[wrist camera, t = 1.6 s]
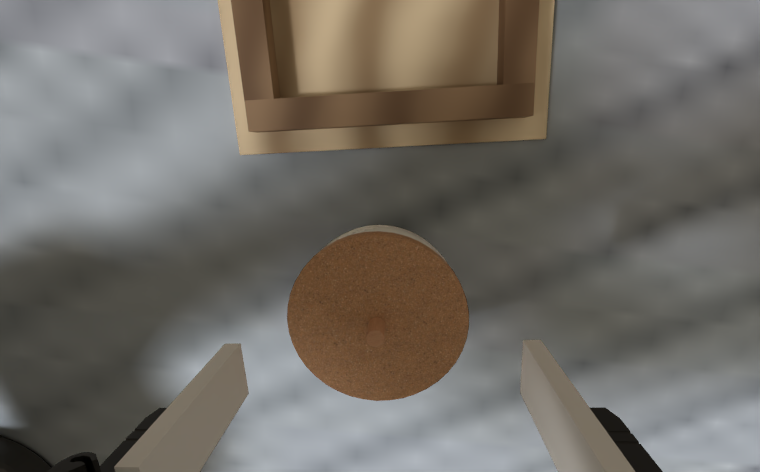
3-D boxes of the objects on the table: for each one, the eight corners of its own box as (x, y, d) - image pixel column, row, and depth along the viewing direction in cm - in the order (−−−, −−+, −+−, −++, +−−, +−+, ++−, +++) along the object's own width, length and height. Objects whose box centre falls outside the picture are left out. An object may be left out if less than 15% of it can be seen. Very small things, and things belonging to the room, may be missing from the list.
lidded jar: (296, 233, 27) (246, 275, 18) (429, 192, 26) (446, 216, 17) (340, 350, 30) (316, 439, 21) (464, 318, 28) (496, 398, 19)
